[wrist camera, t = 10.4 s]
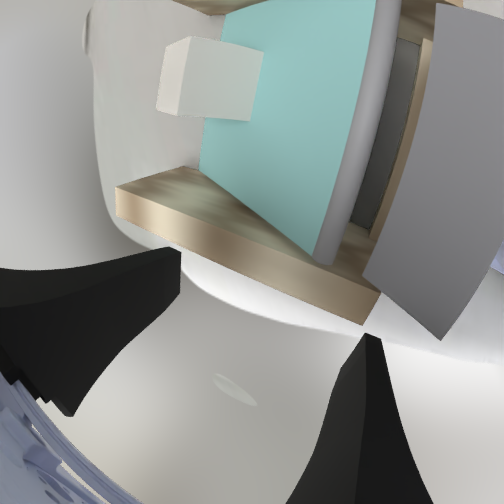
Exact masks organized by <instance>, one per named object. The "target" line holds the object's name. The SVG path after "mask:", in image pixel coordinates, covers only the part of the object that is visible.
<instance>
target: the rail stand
mask: <svg viewBox="0 0 504 504" xmlns="http://www.w3.org/2000/svg"><path fill="white" fill-rule="evenodd" d="M173 1H175V2H178V3H181V4H183V5H186V6H188V7H190V8H193V9H195V10H197V11H200V12H202V13H204V14H206V15H223V14H228V13H231V12H234V11H237V10H239V9H242V8H245V7H248V6H251V5H255V4H258V3H261V2H265V1H268V0H173ZM436 3H441V4H446V5H452V6H456V7H461V8H463V0H402V4H401V13H400V21H399V28H398V35H397V37H398V38H401V39H404V40H407V41H410V42H413V43H415V44H418V45H420V49H419V56H418V62H417V68H416V73H415V79H414V84H413V88H412V93H411V98H410V102H409V106H408V111H407V115H406V119H405V123H404V127H403V130H402V134H401V138H400V141H399V145H398V148H397V152H396V155H395V158H394V162H393V165H392V168H391V171H390V174H389V177H388V180H387V183H386V186H385V189H384V192H383V195H382V198H381V201H380V203H379V206H378V209H377V212H376V214H375V217H374V219H373V222H372V225H371V227H370V230H368V229H366V228H363V227H361V226H358V225H356V224H353V223H351V222H349V223H348V225H347V228H346V231H345V234H344V236H343V239H342V242H341V244H340V247H339V250H338V252H337V255H336V257H335V260H334V262H333V264H332V265H322V264H320V263H318V262H316V261H315V260H313V258H312V256H310V255H309V254H308V253H307V252H305V251H304V250H303V249H302V248H300V247H299V246H298V245H297V244H295V243H294V242H293V241H292V240H290V239H289V238H288V237H287V236H285V235H284V234H283V233H281V232H280V231H279V230H278V229H276V228H275V227H274V226H272V225H271V224H270V223H269V222H267V221H266V220H265V219H263V218H262V217H261V216H259V215H258V214H257V213H256V212H254V211H253V210H252V209H250V208H249V207H248V206H246V205H245V204H244V203H242V202H241V201H240V200H238V199H237V198H236V197H234V196H233V195H232V194H230V193H229V192H228V191H226V190H225V189H224V188H222V187H221V186H220V185H218V184H217V183H216V182H214V181H213V180H212V179H210V178H209V177H207V176H206V175H205V174H203V173H202V172H201V171H198V170H194V169H191V168H187V167H183V166H182V167H179V168H175V169H172V170H168V171H164V172H161V173H158V174H154V175H151V176H148V177H144V178H141V179H138V180H135V181H132V182H129V183H126V184H123V185H120V186H117V187H115V195H116V215H117V216H119V217H121V218H123V219H125V220H127V221H129V222H131V223H133V224H135V225H137V226H139V227H141V228H143V229H145V230H148V231H150V232H152V233H154V234H156V235H158V236H160V237H162V238H164V239H166V240H169V241H171V242H173V243H175V244H177V245H179V246H181V247H183V248H186V249H188V250H190V251H192V252H194V253H196V254H199V255H201V256H203V257H205V258H207V259H209V260H212V261H214V262H216V263H218V264H220V265H223V266H225V267H227V268H229V269H231V270H234V271H236V272H238V273H240V274H243V275H245V276H247V277H249V278H252V279H254V280H256V281H258V282H261V283H263V284H265V285H267V286H270V287H272V288H274V289H277V290H279V291H281V292H283V293H286V294H288V295H290V296H293V297H295V298H297V299H300V300H302V301H304V302H307V303H309V304H311V305H314V306H316V307H318V308H321V309H323V310H326V311H328V312H330V313H333V314H335V315H337V316H340V317H342V318H345V319H347V320H350V321H352V322H354V323H357V324H359V325H363V324H364V322H365V321H366V319H367V317H368V315H369V314H370V312H371V310H372V309H373V307H374V305H375V303H376V302H377V300H378V298H379V296H380V294H381V291H380V290H379V289H378V288H377V287H375V286H374V285H373V284H372V283H370V282H369V281H368V280H367V279H365V278H364V277H363V276H362V274H363V272H364V270H365V268H366V266H367V264H368V261H369V259H370V257H371V255H372V252H373V250H374V248H375V245H376V243H377V241H378V238H379V236H380V234H381V231H382V229H383V226H384V224H385V221H386V219H387V216H388V214H389V211H390V208H391V206H392V203H393V200H394V197H395V195H396V192H397V189H398V186H399V183H400V180H401V177H402V174H403V171H404V168H405V165H406V162H407V159H408V155H409V152H410V149H411V145H412V142H413V138H414V135H415V131H416V127H417V123H418V119H419V115H420V111H421V107H422V102H423V98H424V93H425V88H426V83H427V78H428V72H429V66H430V60H431V53H432V46H433V38H434V28H435V16H436Z"/></svg>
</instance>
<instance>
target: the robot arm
mask: <svg viewBox="0 0 504 504" xmlns="http://www.w3.org/2000/svg"><path fill="white" fill-rule="evenodd" d="M490 267H492V268H493V269H495V270H497V271H498V272H500V273H502V274H504V239H503V242H502V244H501V246H500V248H499V250H498V252H497V254H496V256H495V258H494V260H493V262H492V263H491V265H490ZM180 272H181V252H180V251H178V250H176V249H173V248H171V247H164V248H159V249H154V250H150V251H146V252H142V253H138V254H134V255H130V256H127V257H122V258H119V259H114V260H110V261H105V262H101V263H97V264H92V265H86V266H81V267H74V268H66V269H54V270H13V269H5V268H0V504H106V503H104V502H103V501H102V500H100V499H99V498H98V497H96V496H95V495H94V494H93V493H91V492H90V491H89V490H88V489H86V488H85V487H84V486H83V485H81V484H80V483H79V482H78V481H77V480H76V479H75V478H74V477H72V476H71V475H70V474H69V473H68V472H67V471H66V470H65V469H64V468H63V467H62V466H61V465H60V464H61V463H62V460H61V458H62V459H63V460H64V461H65V463H66V464H67V465H68V466H69V467H70V468H71V469H72V470H73V471H74V472H75V473H76V474H77V475H78V476H80V477H81V478H82V479H83V480H84V481H85V482H86V483H87V484H88V485H89V486H90V487H92V488H93V489H94V490H95V491H96V492H97V493H98V494H100V495H101V496H102V497H103V498H105V499H106V500H107V501H108V502H109V503H111V504H144V503H142V502H140V501H139V500H138V499H136V498H135V497H134V496H132V495H131V494H129V493H128V492H127V491H125V490H124V489H123V488H121V487H120V486H119V485H117V484H116V483H115V482H114V481H112V480H111V479H110V478H109V477H108V476H106V475H105V474H104V473H103V472H102V471H100V470H99V469H98V468H97V467H96V466H95V465H94V464H93V463H91V462H90V461H89V460H88V459H87V458H86V457H85V456H84V455H83V454H82V453H81V452H80V451H79V450H78V449H77V448H76V447H75V446H74V445H73V444H72V443H71V442H70V441H69V440H68V439H67V438H66V437H65V436H64V435H63V434H62V433H61V431H60V430H59V429H58V428H57V427H56V426H55V425H54V423H53V422H52V421H51V420H50V419H49V417H48V416H47V415H46V414H45V413H44V412H43V410H42V409H41V408H40V406H39V405H38V404H37V402H36V400H37V399H38V398H39V397H41V398H42V400H43V401H44V402H45V403H48V402H49V401H50V400H52V402H53V403H54V404H55V405H56V406H57V408H58V409H59V410H60V411H61V412H62V413H63V414H64V415H65V416H68V417H73V416H74V414H75V412H76V410H77V409H78V407H79V405H80V404H81V402H82V400H83V399H84V397H85V396H86V394H87V393H88V391H89V390H90V388H91V387H92V385H93V384H94V383H95V382H96V380H97V379H98V377H99V376H100V375H101V374H102V372H103V371H104V370H105V369H106V367H107V366H108V365H109V364H110V363H111V362H112V360H113V359H114V358H115V357H116V356H117V355H118V353H119V352H120V351H121V350H122V349H123V348H124V347H125V346H126V345H127V344H128V343H129V342H130V341H132V340H133V339H134V338H135V337H136V336H137V335H138V334H139V333H141V332H142V331H143V330H144V329H145V328H146V327H147V326H149V325H150V324H151V323H152V322H153V321H154V320H155V319H156V318H157V317H159V316H160V315H161V314H162V313H163V312H164V311H165V310H166V309H167V308H168V306H169V305H170V304H171V303H172V302H173V301H174V300H175V298H176V297H177V296H178V295H179V293H180ZM32 424H33V425H34V427H35V428H36V429H37V430H38V432H39V433H40V434H41V435H42V436H41V435H40V434H39V433H38V432H37V431H35V430H34V429H33V428H32ZM59 456H60V457H61V458H60V457H59ZM286 504H433V502H432V500H431V498H430V496H429V494H428V492H427V489H426V487H425V485H424V483H423V481H422V478H421V476H420V474H419V471H418V469H417V466H416V464H415V461H414V459H413V456H412V454H411V451H410V448H409V445H408V442H407V439H406V436H405V433H404V430H403V427H402V423H401V420H400V417H399V412H398V409H397V405H396V401H395V397H394V393H393V389H392V385H391V380H390V376H389V372H388V367H387V363H386V358H385V354H384V350H383V345H382V341H381V339H380V338H377V337H375V336H372V335H370V334H367V333H365V334H364V335H363V337H362V338H361V340H360V341H359V343H358V344H357V346H356V347H355V349H354V350H353V352H352V353H351V355H350V356H349V357H348V359H347V360H346V362H345V363H344V364H343V366H342V367H341V369H340V372H339V374H338V378H337V380H336V382H335V385H334V388H333V390H332V393H331V397H330V400H329V404H328V408H327V411H326V415H325V418H324V421H323V425H322V428H321V431H320V434H319V438H318V441H317V444H316V446H315V449H314V452H313V454H312V456H311V458H310V461H309V463H308V465H307V467H306V469H305V471H304V473H303V475H302V476H301V478H300V480H299V482H298V484H297V485H296V487H295V489H294V491H293V493H292V494H291V496H290V498H289V499H288V501H287V502H286Z"/></svg>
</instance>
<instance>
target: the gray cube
mask: <svg viewBox="0 0 504 504" xmlns="http://www.w3.org/2000/svg"><path fill="white" fill-rule="evenodd" d="M263 55H264V52H262V51H259V50H255V49H252V48H248V47H244V46H240V45H236V44H232V43H227V42H223V41H218V40H213V39H208V38H202V37H196V36H189V37H187V38H185V39H182V40H180V41H178V42H176V43H173V44H171V45H169V46H167V47H166V51H165V56H164V61H163V67H162V72H161V78H160V85H159V91H158V98H157V106H156V110H159V111H162V112H166V113H169V114H172V115H175V116H191V117H208V118H221V119H232V120H242V121H250V118H251V113H252V108H253V103H254V98H255V93H256V88H257V83H258V79H259V74H260V69H261V64H262V60H263Z"/></svg>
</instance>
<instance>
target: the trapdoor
mask: <svg viewBox="0 0 504 504" xmlns="http://www.w3.org/2000/svg"><path fill="white" fill-rule="evenodd" d="M401 4H402V0H268V1H265V2H261V3H258V4H255V5H251V6H248V7H245V8H242V9H239V10H237V11H234V12H231V13H228V14H226V17H225V22H224V26H223V30H222V34H221V39H220V41H223V42H227V43H232V44H236V45H240V46H244V47H248V48H252V49H255V50H259V51H262V52H264V55H263V60H262V64H261V69H260V74H259V79H258V83H257V88H256V93H255V98H254V103H253V108H252V113H251V118H250V121H242V120H232V119H221V118H208V117H206V119H205V125H204V132H203V139H202V146H201V153H200V161H199V169H198V170H199V171H201V172H202V173H203V174H205V175H206V176H207V177H209V178H210V179H212V180H213V181H214V182H216V183H217V184H218V185H220V186H221V187H222V188H224V189H225V190H226V191H228V192H229V193H230V194H232V195H233V196H234V197H236V198H237V199H238V200H240V201H241V202H242V203H244V204H245V205H246V206H248V207H249V208H250V209H252V210H253V211H254V212H256V213H257V214H258V215H259V216H261V217H262V218H263V219H265V220H266V221H267V222H269V223H270V224H271V225H272V226H274V227H275V228H276V229H278V230H279V231H280V232H281V233H283V234H284V235H285V236H287V237H288V238H289V239H290V240H292V241H293V242H294V243H295V244H297V245H298V246H299V247H300V248H302V249H303V250H304V251H305V252H307V253H308V254H309V255H310V256H312V258H313V260H315V261H316V262H318V263H320V264H322V265H332V264H333V262H334V260H335V257H336V255H337V252H338V250H339V247H340V244H341V242H342V239H343V236H344V234H345V231H346V228H347V225H348V223H349V220H350V217H351V214H352V211H353V208H354V205H355V202H356V199H357V196H358V193H359V190H360V187H361V184H362V181H363V178H364V175H365V172H366V168H367V165H368V162H369V158H370V155H371V151H372V148H373V144H374V141H375V137H376V133H377V130H378V126H379V122H380V118H381V114H382V110H383V106H384V102H385V97H386V93H387V88H388V84H389V79H390V74H391V69H392V64H393V59H394V53H395V47H396V41H397V35H398V28H399V21H400V13H401ZM503 239H504V20H503V19H500V18H497V17H494V16H491V15H488V14H484V13H481V12H477V11H473V10H470V9H465V8H461V7H456V6H452V5H446V4H441V3H436V16H435V28H434V38H433V46H432V53H431V60H430V66H429V72H428V78H427V83H426V88H425V93H424V98H423V102H422V107H421V111H420V115H419V119H418V123H417V127H416V131H415V135H414V138H413V142H412V145H411V149H410V152H409V155H408V159H407V162H406V165H405V168H404V171H403V174H402V177H401V180H400V183H399V186H398V189H397V192H396V195H395V197H394V200H393V203H392V206H391V208H390V211H389V214H388V216H387V219H386V221H385V224H384V226H383V229H382V231H381V234H380V236H379V238H378V241H377V243H376V245H375V248H374V250H373V252H372V255H371V257H370V259H369V261H368V264H367V266H366V268H365V270H364V272H363V274H362V276H363V277H364V278H365V279H367V280H368V281H369V282H370V283H372V284H373V285H374V286H375V287H377V288H378V289H379V290H380V291H382V292H383V293H384V294H385V295H387V296H388V297H389V298H390V299H391V300H393V301H394V302H395V303H396V304H398V305H399V306H400V307H401V308H402V309H404V310H405V311H406V312H407V313H408V314H410V315H411V316H412V317H413V318H414V319H415V320H417V321H418V322H419V323H420V324H421V325H422V326H424V327H425V328H426V329H427V330H428V331H429V332H431V333H432V334H433V335H434V336H435V337H436V338H437V339H439V340H440V341H441V340H442V338H443V337H444V336H445V335H446V333H447V332H448V331H449V329H450V328H451V327H452V325H453V324H454V323H455V321H456V320H457V318H458V317H459V316H460V314H461V313H462V311H463V310H464V308H465V307H466V305H467V304H468V302H469V301H470V299H471V298H472V296H473V294H474V293H475V291H476V290H477V288H478V286H479V285H480V283H481V281H482V280H483V278H484V276H485V274H486V273H487V271H488V269H489V267H490V265H491V263H492V262H493V260H494V258H495V256H496V254H497V252H498V250H499V248H500V246H501V244H502V242H503Z"/></svg>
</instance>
